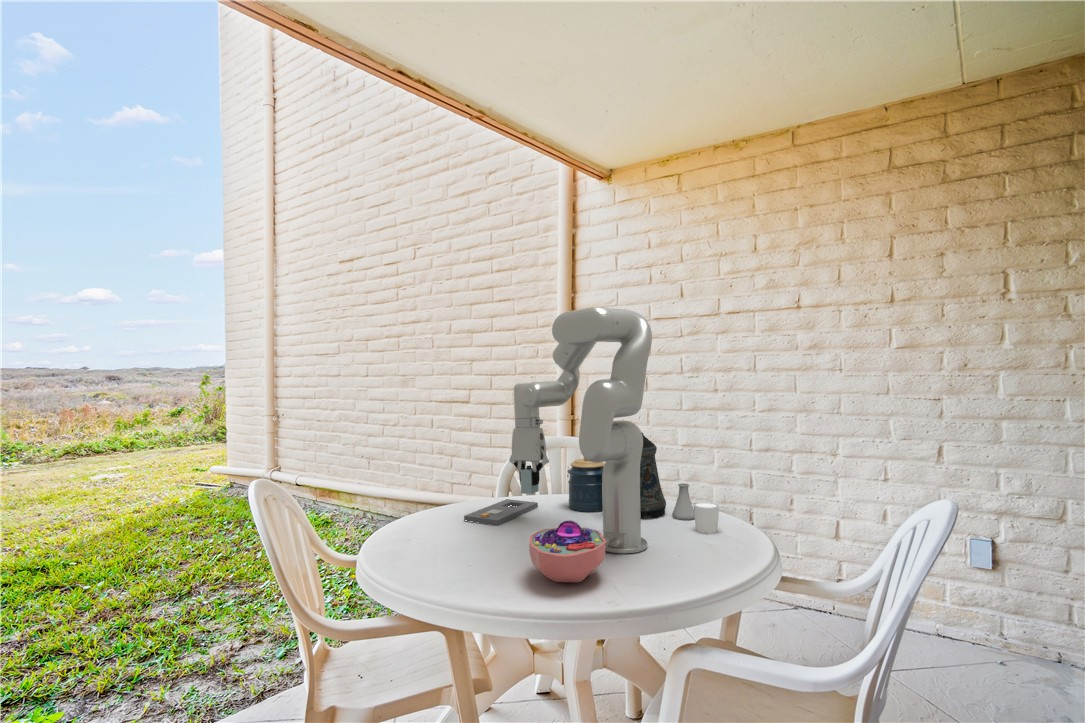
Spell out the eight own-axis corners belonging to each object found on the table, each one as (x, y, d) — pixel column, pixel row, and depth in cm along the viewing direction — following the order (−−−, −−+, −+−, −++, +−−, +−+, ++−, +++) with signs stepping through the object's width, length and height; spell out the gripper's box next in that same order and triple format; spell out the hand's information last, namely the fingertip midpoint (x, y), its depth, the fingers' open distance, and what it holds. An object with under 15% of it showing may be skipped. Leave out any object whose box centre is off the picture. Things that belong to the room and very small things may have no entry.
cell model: (515, 591, 112) (514, 535, 112) (543, 559, 131) (542, 511, 131) (597, 599, 107) (596, 541, 107) (614, 565, 126) (613, 515, 127)
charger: (531, 494, 165) (530, 467, 165) (521, 493, 166) (520, 466, 167) (538, 491, 168) (537, 464, 169) (528, 490, 170) (527, 464, 171)
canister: (592, 514, 171) (591, 457, 171) (560, 508, 180) (559, 453, 180) (616, 506, 181) (615, 452, 181) (585, 501, 189) (584, 449, 190)
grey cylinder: (694, 533, 150) (693, 507, 150) (693, 526, 156) (692, 501, 156) (720, 534, 148) (720, 508, 148) (718, 527, 155) (718, 502, 155)
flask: (667, 515, 169) (667, 482, 169) (689, 513, 170) (689, 481, 171) (678, 521, 162) (677, 487, 162) (701, 519, 163) (700, 485, 164)
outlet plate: (497, 525, 160) (497, 518, 160) (464, 521, 166) (464, 513, 166) (537, 507, 181) (537, 500, 181) (507, 503, 187) (506, 497, 187)
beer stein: (673, 509, 175) (671, 431, 176) (652, 524, 159) (650, 437, 159) (624, 504, 184) (623, 429, 184) (599, 518, 167) (598, 435, 168)
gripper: (557, 422, 168) (559, 483, 167) (510, 422, 176) (513, 481, 175) (545, 424, 161) (547, 488, 160) (497, 424, 169) (500, 485, 168)
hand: (529, 483), depth 168 cm, fingers closed on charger, 3 cm apart
